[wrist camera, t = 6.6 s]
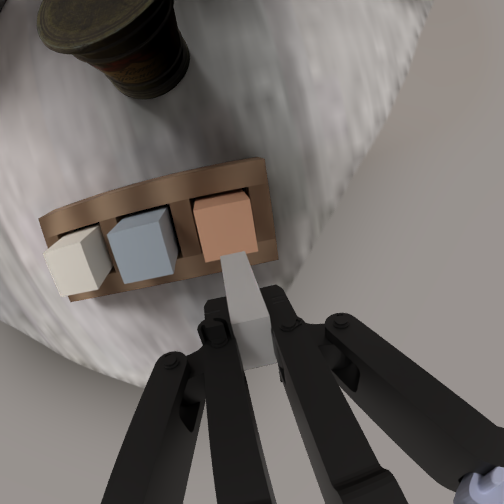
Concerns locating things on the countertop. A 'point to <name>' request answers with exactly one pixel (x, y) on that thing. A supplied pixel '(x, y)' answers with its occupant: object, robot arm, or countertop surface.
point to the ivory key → (79, 261)
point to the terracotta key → (225, 224)
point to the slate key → (144, 245)
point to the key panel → (180, 199)
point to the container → (120, 41)
